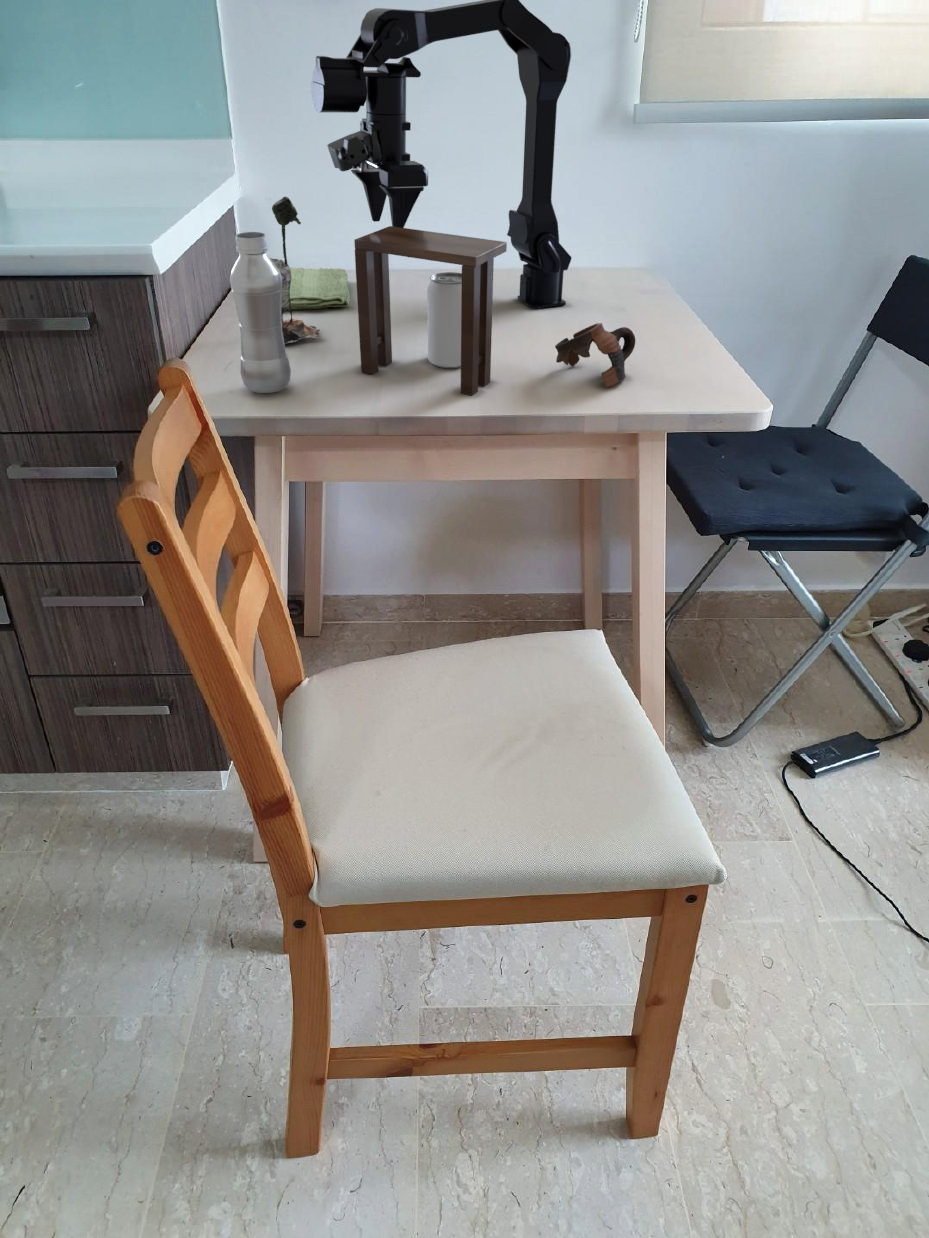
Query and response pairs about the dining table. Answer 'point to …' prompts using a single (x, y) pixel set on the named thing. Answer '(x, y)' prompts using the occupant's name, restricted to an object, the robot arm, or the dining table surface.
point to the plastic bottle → (259, 315)
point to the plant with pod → (289, 277)
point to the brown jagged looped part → (605, 344)
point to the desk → (474, 295)
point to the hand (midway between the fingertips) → (386, 227)
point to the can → (444, 319)
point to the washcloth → (319, 288)
